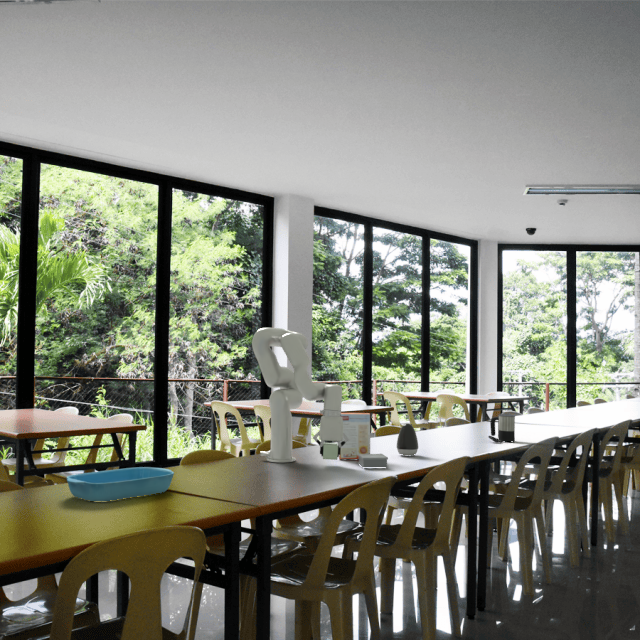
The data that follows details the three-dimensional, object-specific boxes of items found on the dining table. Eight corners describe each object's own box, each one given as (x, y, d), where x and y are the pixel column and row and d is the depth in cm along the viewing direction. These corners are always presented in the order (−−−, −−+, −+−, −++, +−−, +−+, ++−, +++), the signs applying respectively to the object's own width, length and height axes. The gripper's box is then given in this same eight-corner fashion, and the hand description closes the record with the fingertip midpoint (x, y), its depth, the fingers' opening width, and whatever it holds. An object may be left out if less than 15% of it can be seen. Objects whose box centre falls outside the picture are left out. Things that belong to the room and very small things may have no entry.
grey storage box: (362, 469, 283) (362, 457, 283) (357, 465, 293) (357, 454, 294) (387, 469, 284) (387, 457, 285) (381, 465, 295) (382, 453, 295)
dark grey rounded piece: (421, 455, 325) (421, 423, 325) (413, 458, 315) (414, 424, 316) (401, 453, 329) (401, 421, 330) (393, 456, 320) (393, 423, 321)
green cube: (323, 459, 287) (323, 444, 287) (322, 456, 293) (323, 442, 293) (337, 459, 287) (338, 445, 287) (336, 457, 293) (337, 443, 293)
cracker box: (370, 459, 311) (370, 412, 312) (370, 461, 305) (370, 413, 306) (339, 458, 312) (340, 412, 313) (338, 460, 306) (339, 413, 307)
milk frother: (515, 441, 383) (515, 414, 384) (514, 444, 368) (514, 416, 369) (489, 439, 387) (489, 413, 388) (487, 443, 373) (487, 415, 373)
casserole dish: (148, 483, 249) (148, 463, 249) (186, 491, 234) (187, 470, 235) (51, 498, 221) (52, 476, 222) (88, 509, 207) (89, 485, 207)
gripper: (312, 413, 287) (309, 456, 286) (353, 415, 287) (350, 458, 287) (311, 411, 294) (309, 453, 294) (351, 413, 295) (349, 455, 294)
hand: (330, 455), depth 290 cm, fingers closed on green cube, 6 cm apart
